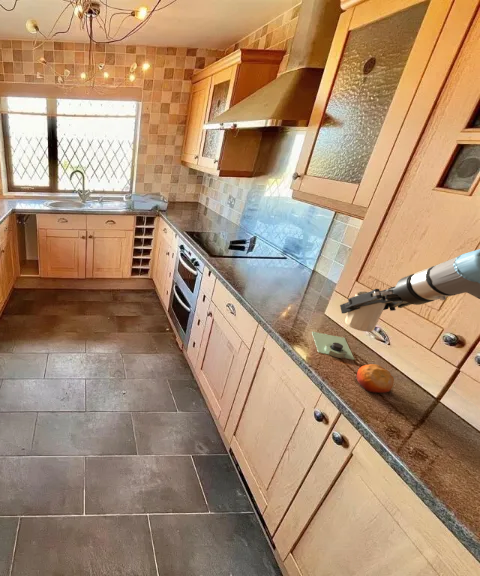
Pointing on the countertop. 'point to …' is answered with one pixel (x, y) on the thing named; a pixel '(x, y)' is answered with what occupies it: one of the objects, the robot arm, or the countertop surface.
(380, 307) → the cup
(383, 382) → the fruit
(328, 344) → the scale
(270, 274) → the countertop surface
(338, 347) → the tare button
